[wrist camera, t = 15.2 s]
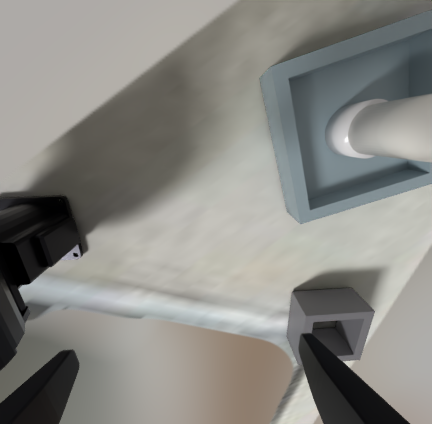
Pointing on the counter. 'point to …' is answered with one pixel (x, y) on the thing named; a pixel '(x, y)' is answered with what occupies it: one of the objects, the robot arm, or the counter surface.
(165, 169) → the counter surface
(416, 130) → the white rounded column
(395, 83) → the parts tray
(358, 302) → the light bulb socket
